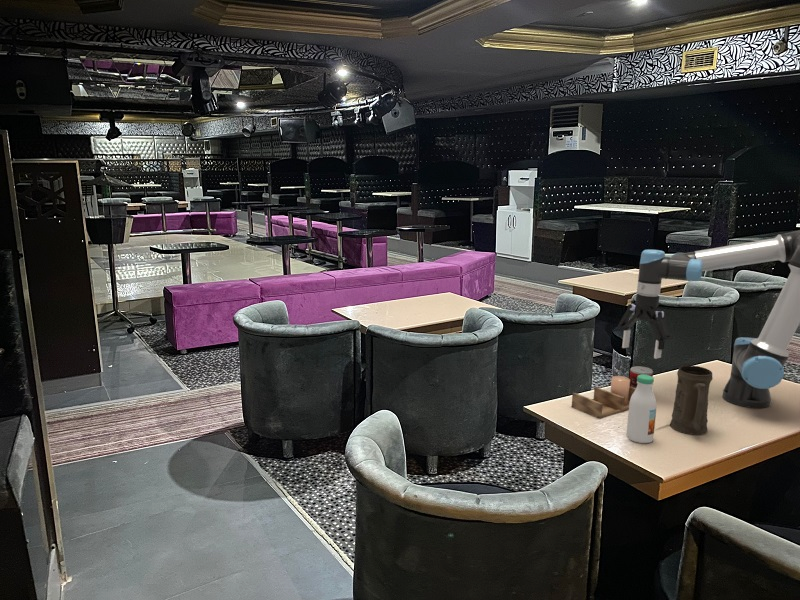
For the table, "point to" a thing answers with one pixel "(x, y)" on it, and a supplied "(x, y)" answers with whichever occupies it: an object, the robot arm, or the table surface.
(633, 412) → the milk bottle
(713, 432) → the table surface
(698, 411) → the beer stein
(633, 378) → the canned food
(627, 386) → the peach rounded block
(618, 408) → the rack
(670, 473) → the table surface
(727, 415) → the table surface
